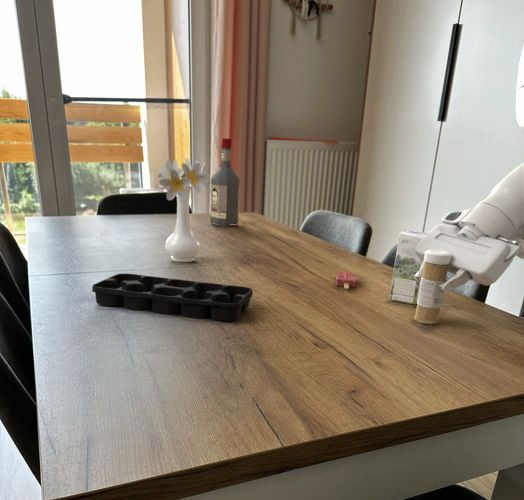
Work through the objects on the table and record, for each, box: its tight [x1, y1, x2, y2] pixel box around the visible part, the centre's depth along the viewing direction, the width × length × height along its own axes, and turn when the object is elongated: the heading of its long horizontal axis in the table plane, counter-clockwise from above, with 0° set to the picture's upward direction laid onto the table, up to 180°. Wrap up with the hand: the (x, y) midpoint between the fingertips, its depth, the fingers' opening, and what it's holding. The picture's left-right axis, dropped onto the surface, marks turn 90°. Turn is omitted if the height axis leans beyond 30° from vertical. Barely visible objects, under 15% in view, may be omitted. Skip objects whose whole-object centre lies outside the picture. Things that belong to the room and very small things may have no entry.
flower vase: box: [157, 157, 211, 263], centre depth 130 cm, size 13×18×25 cm
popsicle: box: [335, 270, 357, 290], centre depth 121 cm, size 4×2×15 cm
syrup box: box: [388, 229, 428, 305], centre depth 109 cm, size 6×6×14 cm
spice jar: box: [413, 250, 451, 326], centre depth 96 cm, size 5×5×13 cm
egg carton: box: [91, 273, 254, 323], centre depth 98 cm, size 18×30×4 cm, turn 89°
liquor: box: [209, 137, 241, 228], centre depth 187 cm, size 9×9×30 cm
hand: (429, 285), depth 95 cm, fingers open, 6 cm apart
